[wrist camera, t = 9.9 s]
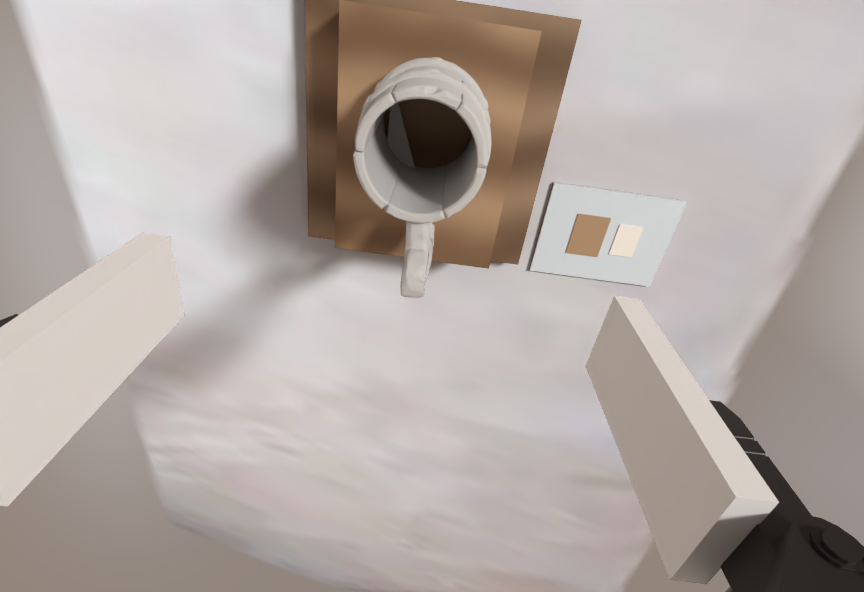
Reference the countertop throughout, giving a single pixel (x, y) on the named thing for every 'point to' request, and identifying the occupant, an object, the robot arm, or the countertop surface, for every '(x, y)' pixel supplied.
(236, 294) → the countertop surface
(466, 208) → the plinth
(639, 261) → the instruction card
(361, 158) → the mug
